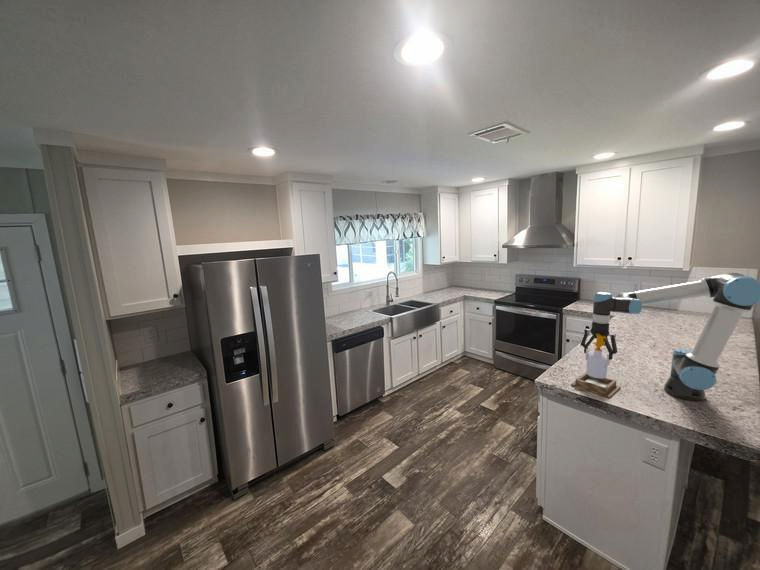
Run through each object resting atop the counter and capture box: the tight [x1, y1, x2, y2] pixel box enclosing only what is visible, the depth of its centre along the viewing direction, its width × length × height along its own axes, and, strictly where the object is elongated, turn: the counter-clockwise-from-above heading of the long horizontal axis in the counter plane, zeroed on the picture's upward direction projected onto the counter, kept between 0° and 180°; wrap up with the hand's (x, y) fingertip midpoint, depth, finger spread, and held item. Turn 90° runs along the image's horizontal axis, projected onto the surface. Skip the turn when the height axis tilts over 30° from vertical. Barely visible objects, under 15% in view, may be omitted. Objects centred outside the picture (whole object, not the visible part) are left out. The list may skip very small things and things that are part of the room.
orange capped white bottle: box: [585, 333, 608, 378], centre depth 168 cm, size 9×9×25 cm
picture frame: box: [570, 372, 621, 399], centre depth 171 cm, size 18×16×4 cm
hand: (597, 362), depth 169 cm, fingers closed on orange capped white bottle, 9 cm apart
